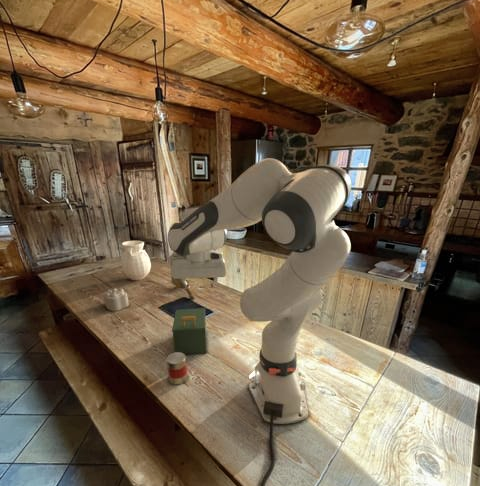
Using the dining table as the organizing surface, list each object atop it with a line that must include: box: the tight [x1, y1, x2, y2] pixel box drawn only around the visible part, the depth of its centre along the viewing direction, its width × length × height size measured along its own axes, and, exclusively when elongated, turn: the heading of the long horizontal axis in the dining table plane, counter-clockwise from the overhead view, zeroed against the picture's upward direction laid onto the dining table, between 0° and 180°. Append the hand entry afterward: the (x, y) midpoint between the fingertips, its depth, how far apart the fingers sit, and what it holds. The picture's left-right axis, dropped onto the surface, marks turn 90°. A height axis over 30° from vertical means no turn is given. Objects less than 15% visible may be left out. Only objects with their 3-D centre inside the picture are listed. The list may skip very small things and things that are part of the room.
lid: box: [171, 307, 206, 333], centre depth 109 cm, size 16×13×5 cm
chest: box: [172, 318, 207, 356], centre depth 113 cm, size 16×13×12 cm
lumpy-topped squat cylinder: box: [103, 288, 130, 312], centre depth 146 cm, size 10×13×9 cm
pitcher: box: [120, 240, 152, 281], centre depth 180 cm, size 19×18×25 cm
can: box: [166, 351, 188, 385], centre depth 94 cm, size 6×6×9 cm
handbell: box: [170, 277, 196, 300], centre depth 161 cm, size 12×12×25 cm
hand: (200, 287), depth 101 cm, fingers open, 8 cm apart
